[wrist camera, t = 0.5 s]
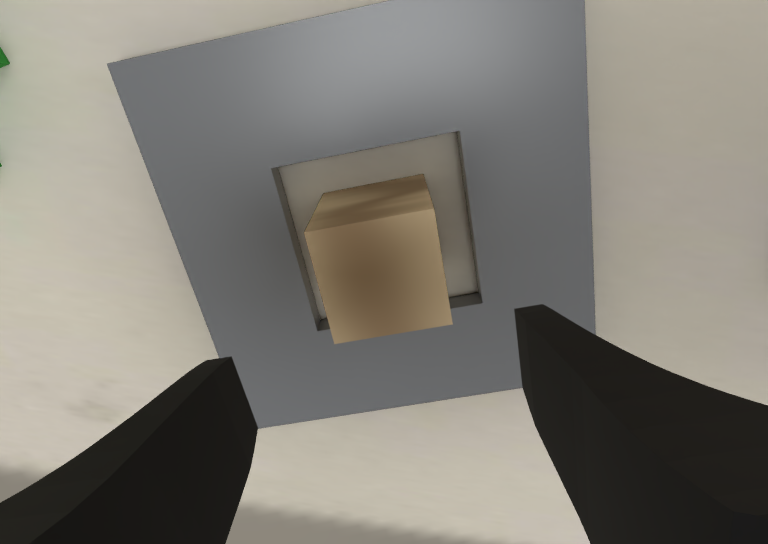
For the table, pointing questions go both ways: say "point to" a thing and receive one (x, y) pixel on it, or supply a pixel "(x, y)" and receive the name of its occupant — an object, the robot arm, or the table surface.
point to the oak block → (379, 260)
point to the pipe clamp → (3, 64)
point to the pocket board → (360, 132)
